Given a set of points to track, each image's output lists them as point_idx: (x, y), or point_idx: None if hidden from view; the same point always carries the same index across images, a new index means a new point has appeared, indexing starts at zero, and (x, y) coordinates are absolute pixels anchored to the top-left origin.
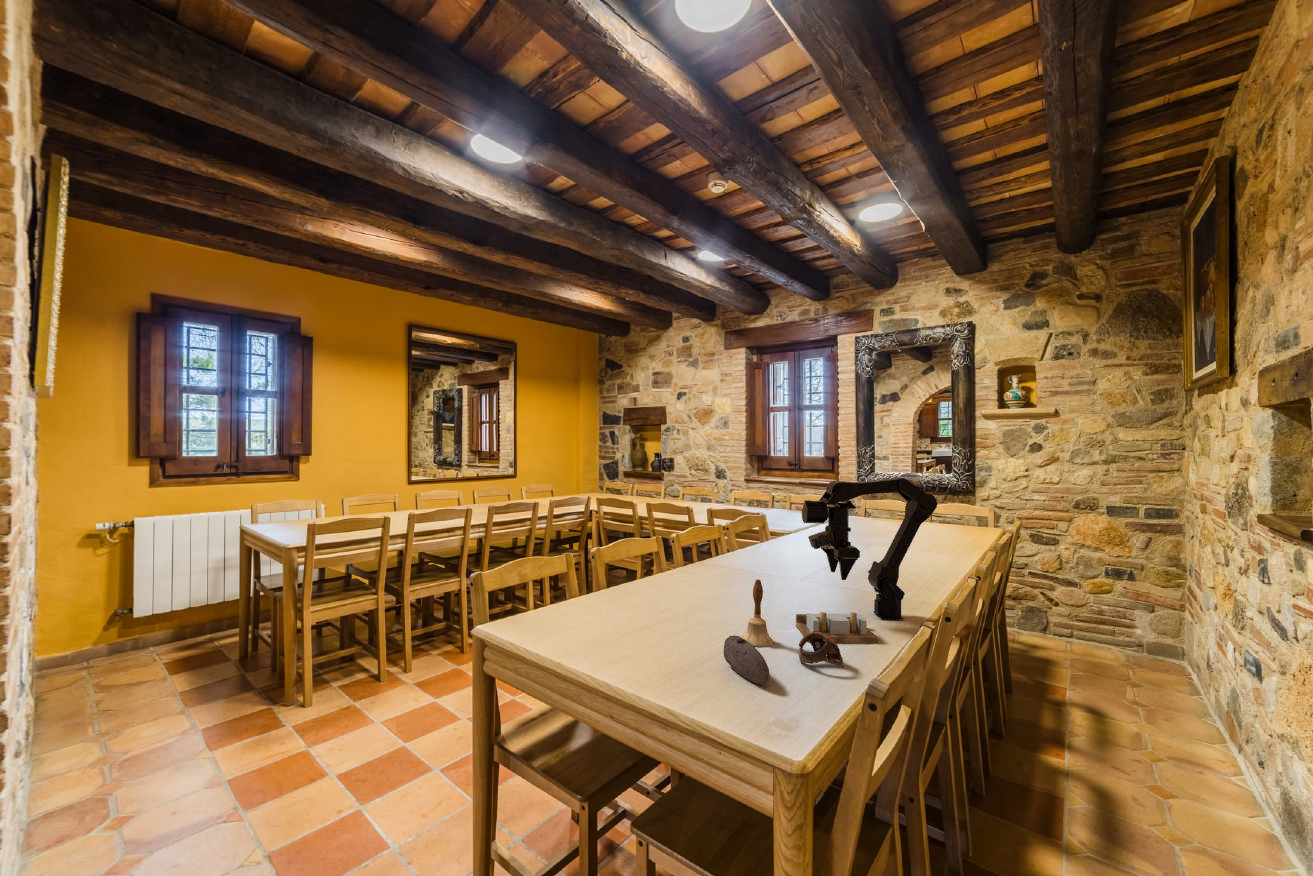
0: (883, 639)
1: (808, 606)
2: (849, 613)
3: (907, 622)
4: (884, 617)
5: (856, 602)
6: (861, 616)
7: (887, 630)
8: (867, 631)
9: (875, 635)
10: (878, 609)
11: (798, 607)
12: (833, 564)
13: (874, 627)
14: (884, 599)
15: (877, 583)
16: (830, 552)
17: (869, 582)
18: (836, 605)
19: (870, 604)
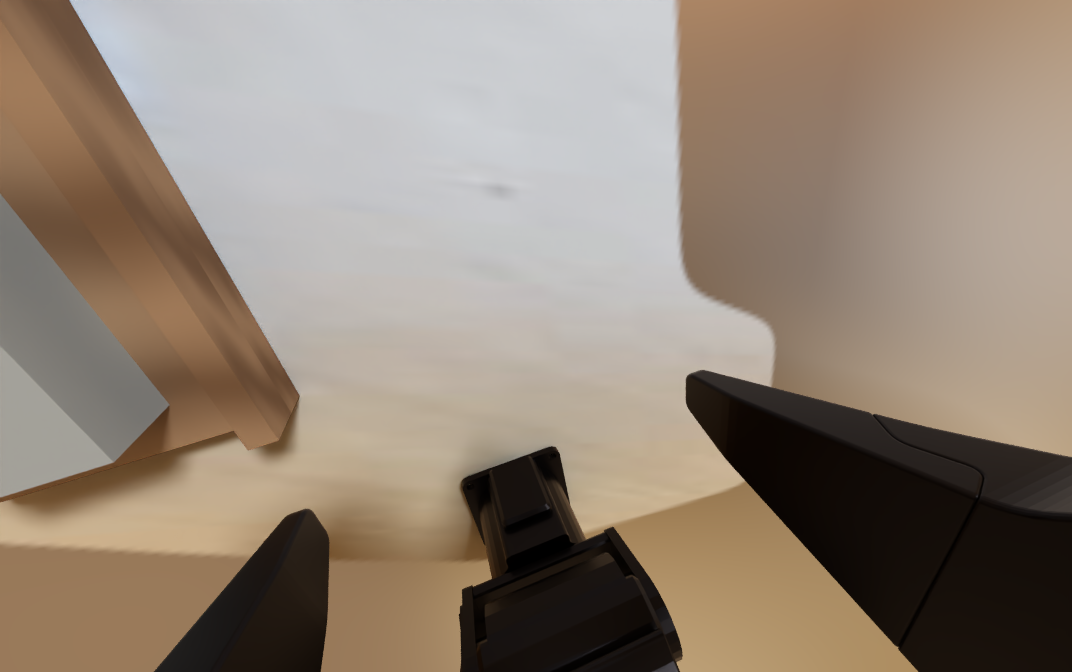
0: (122, 498)
1: (626, 121)
2: (63, 410)
3: (461, 550)
4: (473, 491)
5: None
6: (248, 447)
7: (306, 502)
8: None
9: (13, 496)
10: (494, 493)
11: (598, 36)
12: (764, 456)
13: (329, 454)
14: (501, 563)
15: (480, 660)
16: (1068, 605)
17: (611, 565)
18: (654, 293)
19: (673, 429)
